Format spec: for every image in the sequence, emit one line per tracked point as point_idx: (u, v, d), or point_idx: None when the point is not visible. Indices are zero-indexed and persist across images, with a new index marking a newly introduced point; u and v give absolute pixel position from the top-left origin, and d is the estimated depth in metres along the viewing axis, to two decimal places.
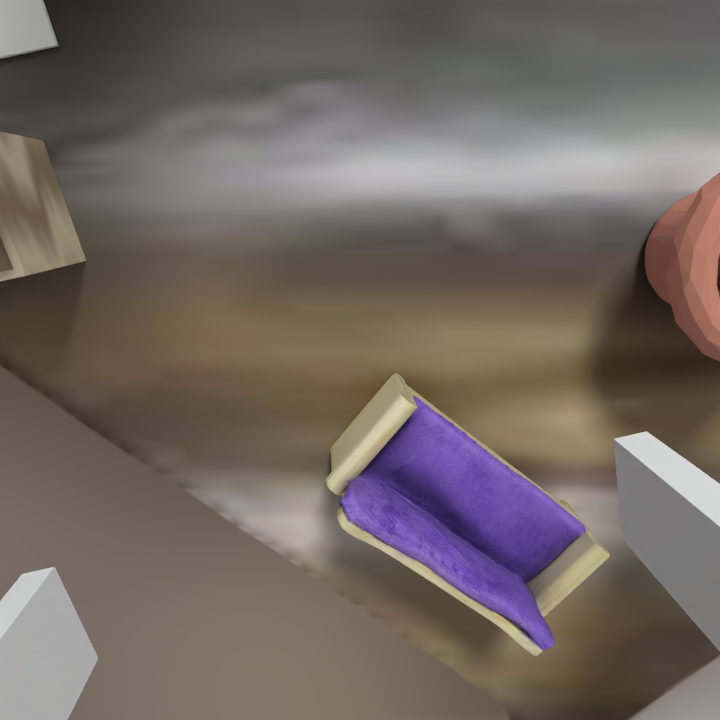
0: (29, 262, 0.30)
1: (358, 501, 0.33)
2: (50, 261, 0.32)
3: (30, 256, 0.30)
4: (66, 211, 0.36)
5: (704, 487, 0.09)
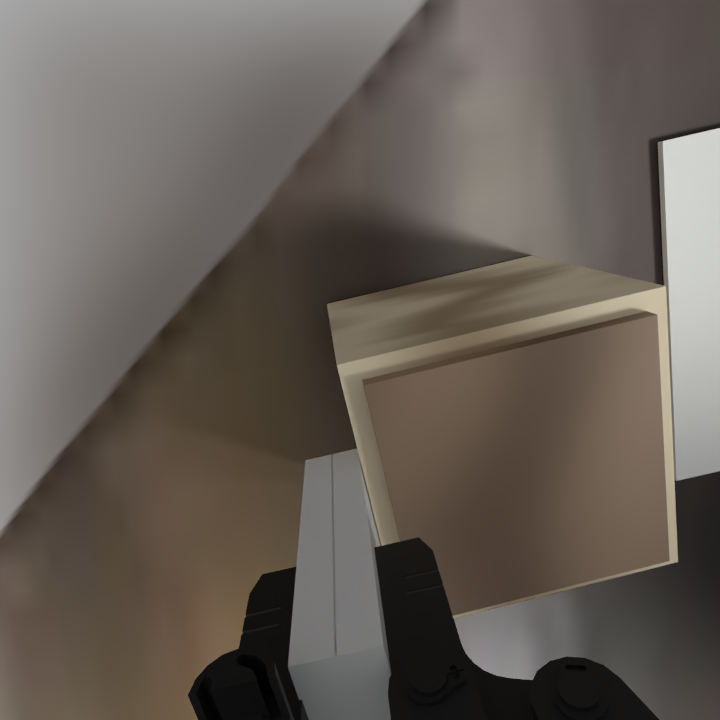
0: None
1: None
2: None
3: None
4: None
5: (351, 496, 0.12)
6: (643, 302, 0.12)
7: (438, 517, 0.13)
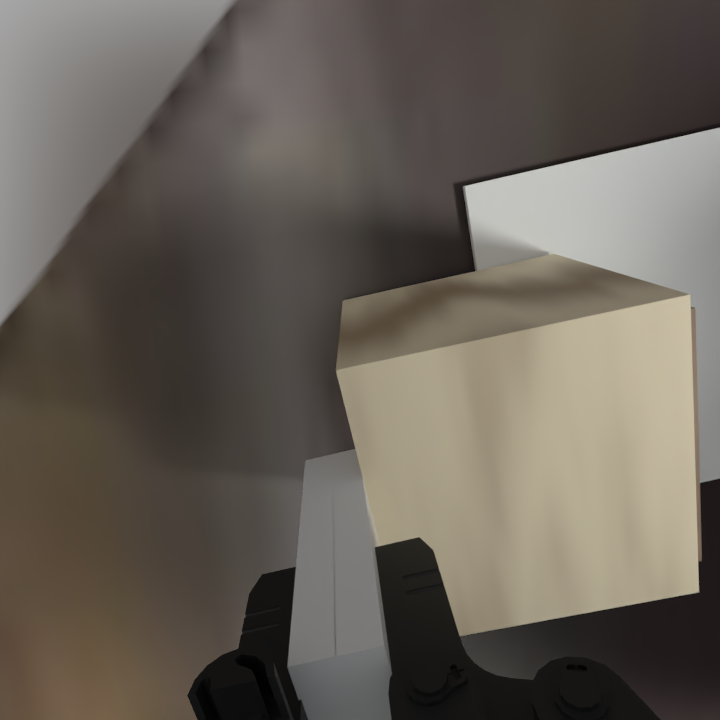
0: None
1: None
2: None
3: None
4: None
5: (351, 496, 0.12)
6: None
7: None
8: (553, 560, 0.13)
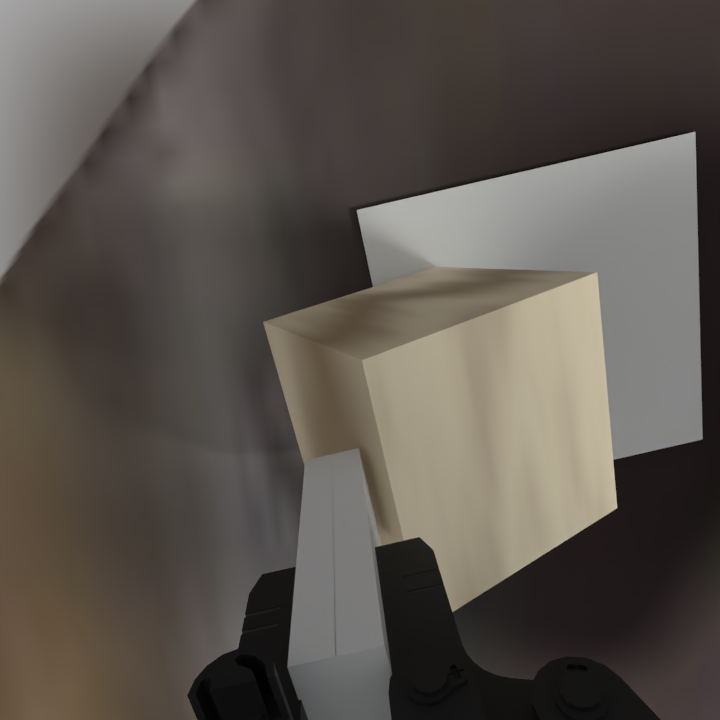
0: None
1: None
2: None
3: None
4: None
5: (352, 496, 0.12)
6: None
7: None
8: (529, 507, 0.15)
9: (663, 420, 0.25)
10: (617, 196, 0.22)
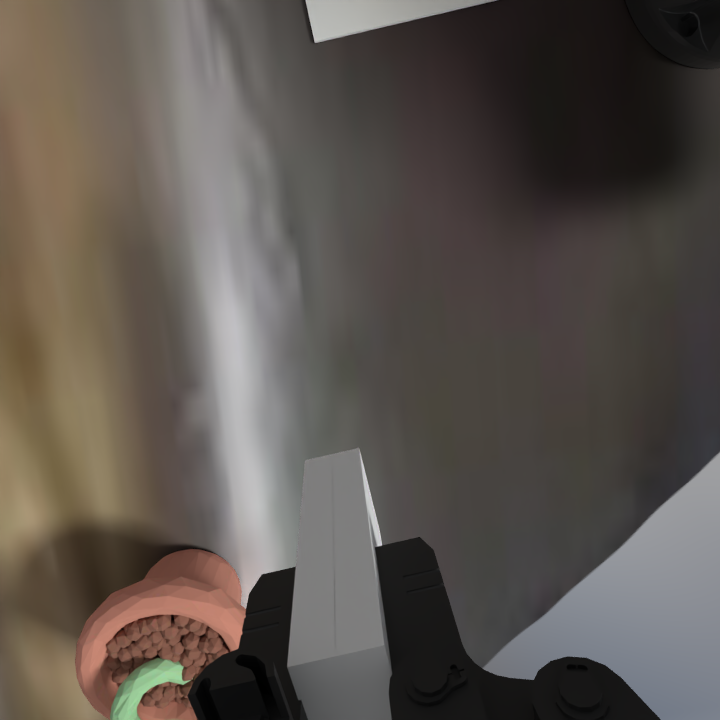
0: None
1: None
2: None
3: None
4: None
5: (352, 496, 0.12)
6: None
7: None
8: None
9: None
10: None
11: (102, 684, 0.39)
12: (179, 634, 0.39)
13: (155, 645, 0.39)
